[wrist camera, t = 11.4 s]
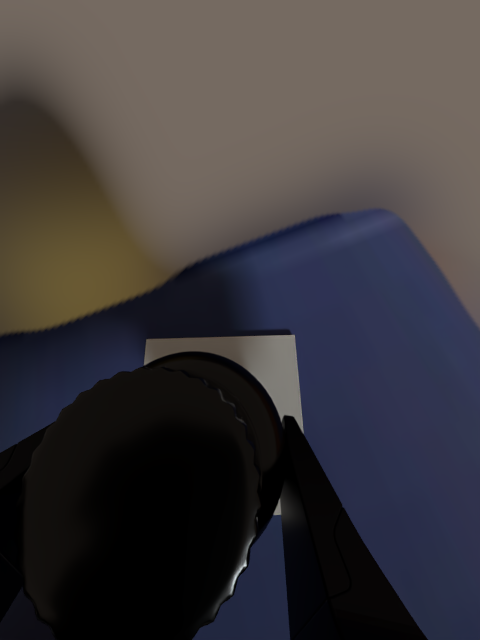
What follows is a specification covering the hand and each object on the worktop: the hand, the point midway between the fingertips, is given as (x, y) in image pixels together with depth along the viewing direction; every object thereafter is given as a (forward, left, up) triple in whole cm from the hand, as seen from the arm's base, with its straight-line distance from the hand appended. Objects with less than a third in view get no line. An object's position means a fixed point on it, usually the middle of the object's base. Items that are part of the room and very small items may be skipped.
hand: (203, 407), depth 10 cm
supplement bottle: (-1, 0, -7) cm, 7 cm away
